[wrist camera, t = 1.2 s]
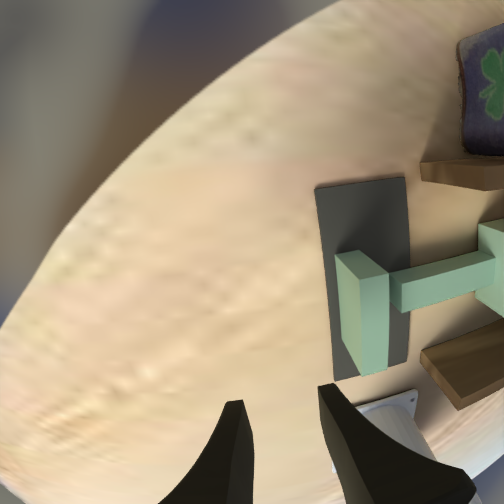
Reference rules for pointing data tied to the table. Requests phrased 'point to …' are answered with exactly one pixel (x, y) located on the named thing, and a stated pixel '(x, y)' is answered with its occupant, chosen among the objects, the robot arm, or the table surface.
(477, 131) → the flask
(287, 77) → the table surface
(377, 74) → the table surface
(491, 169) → the tunnel
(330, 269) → the mat
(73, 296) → the table surface
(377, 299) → the teal block
